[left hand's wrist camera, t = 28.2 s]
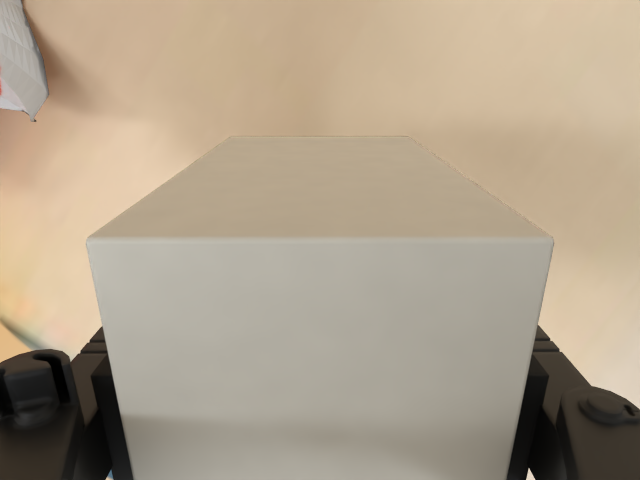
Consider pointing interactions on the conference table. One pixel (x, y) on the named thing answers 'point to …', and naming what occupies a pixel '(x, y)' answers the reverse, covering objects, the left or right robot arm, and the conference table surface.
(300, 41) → the conference table surface
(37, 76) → the fish
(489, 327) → the brick
